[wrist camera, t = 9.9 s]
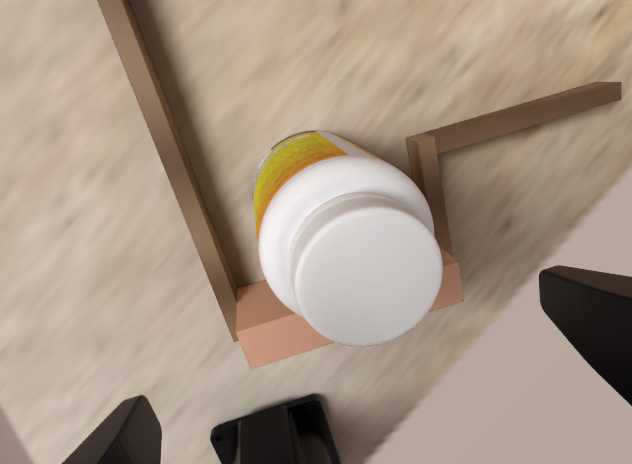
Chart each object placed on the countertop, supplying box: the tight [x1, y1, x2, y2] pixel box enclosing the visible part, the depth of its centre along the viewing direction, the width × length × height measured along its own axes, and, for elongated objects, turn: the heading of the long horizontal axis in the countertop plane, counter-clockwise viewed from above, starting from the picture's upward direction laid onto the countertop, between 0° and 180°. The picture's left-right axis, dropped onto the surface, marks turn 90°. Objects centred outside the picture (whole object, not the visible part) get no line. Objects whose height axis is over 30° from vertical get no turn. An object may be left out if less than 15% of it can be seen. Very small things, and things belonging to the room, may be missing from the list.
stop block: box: [236, 245, 464, 369], centre depth 20 cm, size 2×10×4 cm, turn 104°
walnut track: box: [97, 0, 621, 342], centre depth 19 cm, size 18×21×2 cm
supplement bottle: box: [253, 131, 443, 346], centre depth 15 cm, size 6×6×10 cm
